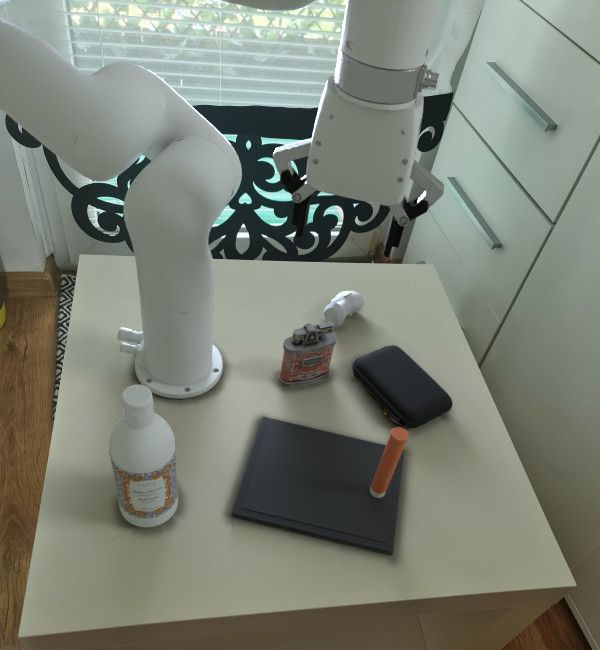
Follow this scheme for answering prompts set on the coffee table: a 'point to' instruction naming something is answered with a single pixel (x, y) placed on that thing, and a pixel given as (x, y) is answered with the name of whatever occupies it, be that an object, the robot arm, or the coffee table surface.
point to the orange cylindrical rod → (388, 461)
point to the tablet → (319, 486)
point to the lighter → (307, 355)
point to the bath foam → (143, 461)
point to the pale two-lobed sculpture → (343, 306)
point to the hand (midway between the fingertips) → (344, 240)
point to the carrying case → (401, 387)
